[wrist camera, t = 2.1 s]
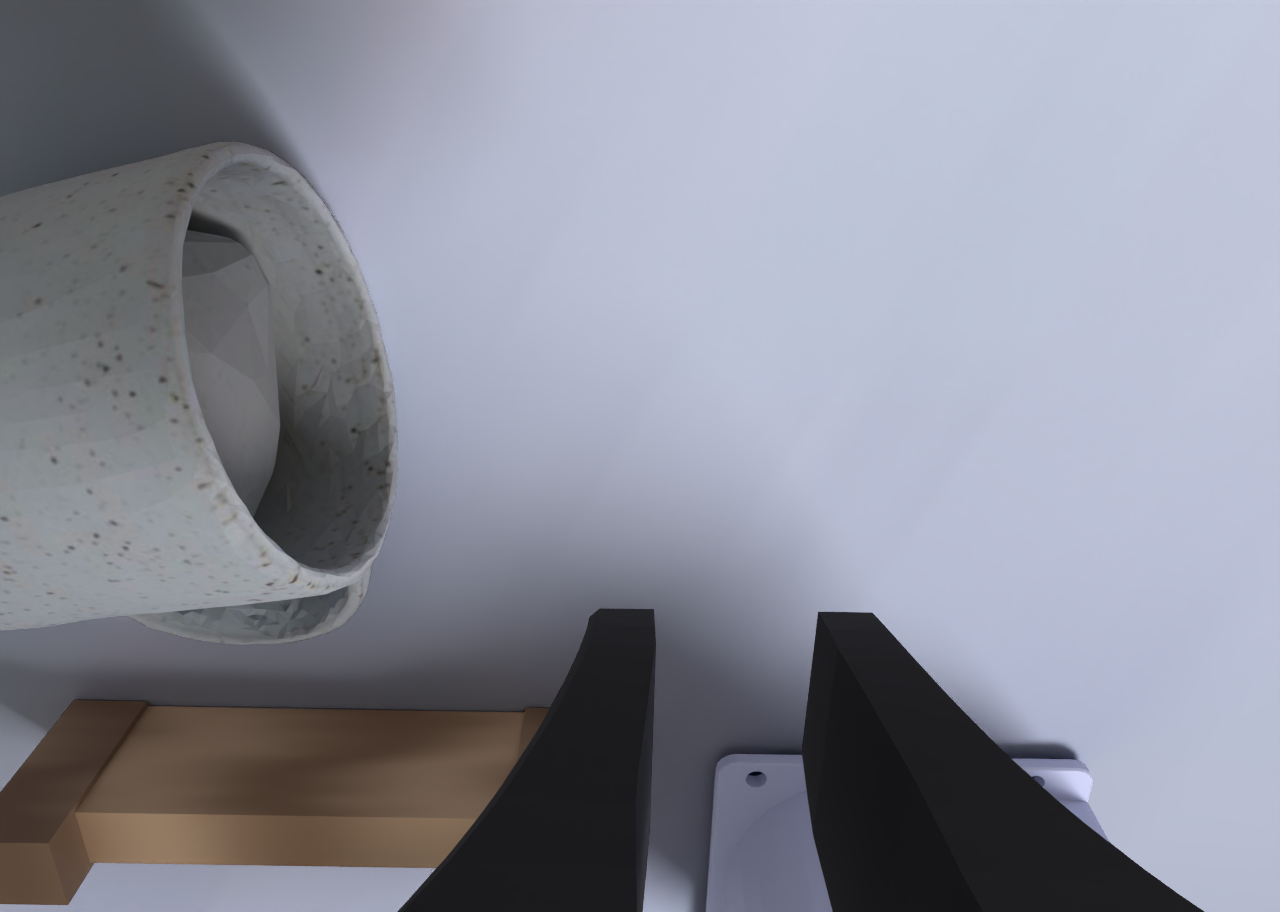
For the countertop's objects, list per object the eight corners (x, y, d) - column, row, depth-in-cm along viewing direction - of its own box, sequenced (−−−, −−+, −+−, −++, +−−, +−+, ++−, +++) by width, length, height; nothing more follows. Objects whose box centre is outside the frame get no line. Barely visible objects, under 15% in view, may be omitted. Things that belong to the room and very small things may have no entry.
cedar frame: (599, -234, 16) (586, -308, 12) (597, 764, 25) (589, 912, 21) (-197, -252, 16) (-481, -334, 12) (89, 756, 25) (-16, 904, 21)
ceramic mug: (-86, 203, 19) (-489, 335, 12) (309, 106, 18) (113, 189, 12) (150, 634, 24) (-48, 904, 17) (474, 571, 23) (404, 828, 16)
